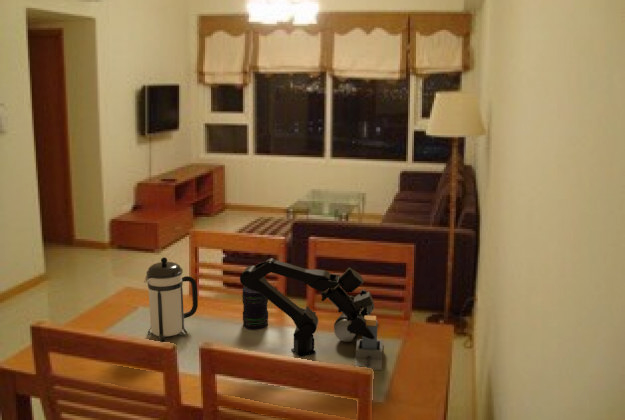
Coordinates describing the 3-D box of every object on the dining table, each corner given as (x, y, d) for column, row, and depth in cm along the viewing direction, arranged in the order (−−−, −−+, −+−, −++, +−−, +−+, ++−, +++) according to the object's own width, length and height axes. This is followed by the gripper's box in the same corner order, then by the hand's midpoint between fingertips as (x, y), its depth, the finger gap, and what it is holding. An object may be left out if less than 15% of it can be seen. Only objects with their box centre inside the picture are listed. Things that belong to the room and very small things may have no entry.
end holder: (354, 368, 198) (354, 357, 197) (357, 342, 218) (358, 332, 217) (381, 370, 197) (382, 359, 196) (382, 344, 216) (383, 333, 216)
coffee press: (180, 345, 215) (177, 265, 209) (139, 341, 218) (135, 262, 212) (199, 326, 232) (196, 251, 225) (160, 322, 235) (157, 248, 228)
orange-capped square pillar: (361, 355, 205) (362, 320, 202) (362, 349, 210) (363, 314, 207) (376, 356, 204) (377, 321, 202) (376, 350, 209) (377, 315, 206)
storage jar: (270, 320, 237) (269, 284, 234) (266, 330, 228) (265, 293, 225) (245, 319, 238) (244, 283, 235) (240, 329, 229) (239, 292, 226)
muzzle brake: (374, 318, 240) (375, 294, 238) (357, 347, 214) (358, 320, 212) (351, 315, 243) (351, 291, 241) (331, 344, 217) (332, 317, 215)
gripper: (358, 295, 193) (391, 329, 194) (360, 277, 211) (391, 308, 212) (333, 316, 196) (366, 350, 197) (338, 297, 214) (368, 327, 215)
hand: (373, 332), depth 205 cm, fingers open, 9 cm apart
